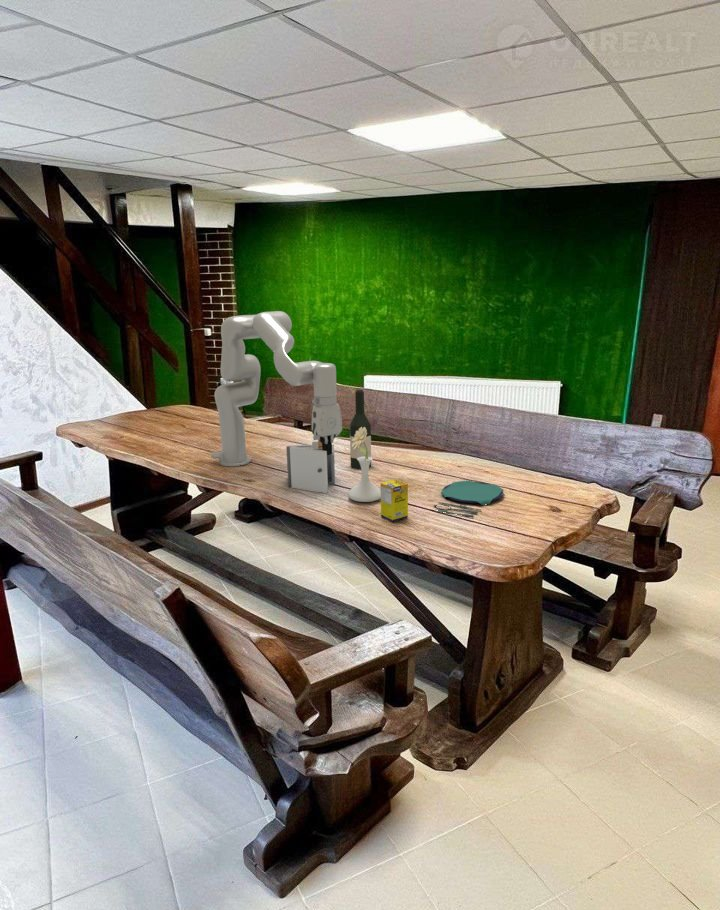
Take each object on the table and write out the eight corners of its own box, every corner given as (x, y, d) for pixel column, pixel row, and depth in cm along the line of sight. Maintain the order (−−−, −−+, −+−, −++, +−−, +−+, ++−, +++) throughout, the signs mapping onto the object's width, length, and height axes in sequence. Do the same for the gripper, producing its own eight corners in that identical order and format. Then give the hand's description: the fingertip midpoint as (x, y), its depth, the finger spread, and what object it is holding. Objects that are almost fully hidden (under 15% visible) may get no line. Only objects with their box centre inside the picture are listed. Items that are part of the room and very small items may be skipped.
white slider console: (289, 485, 213) (287, 452, 210) (291, 477, 222) (289, 445, 219) (334, 484, 213) (333, 451, 210) (334, 476, 223) (334, 444, 220)
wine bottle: (356, 470, 229) (354, 392, 221) (346, 465, 236) (344, 388, 228) (375, 467, 233) (374, 389, 224) (365, 462, 240) (364, 386, 232)
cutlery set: (511, 492, 204) (511, 485, 203) (478, 522, 179) (478, 515, 179) (456, 483, 214) (456, 477, 213) (417, 511, 190) (417, 504, 189)
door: (286, 487, 211) (284, 447, 207) (289, 485, 213) (287, 446, 209) (324, 494, 204) (323, 452, 200) (328, 492, 206) (326, 451, 202)
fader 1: (312, 449, 212) (312, 441, 212) (312, 447, 215) (312, 439, 214) (318, 449, 213) (317, 441, 212) (318, 447, 215) (318, 439, 214)
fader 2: (318, 446, 216) (317, 438, 216) (318, 444, 219) (318, 437, 218) (323, 446, 216) (323, 438, 216) (323, 444, 219) (323, 436, 218)
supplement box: (408, 518, 182) (408, 483, 179) (392, 522, 179) (392, 487, 176) (395, 512, 187) (395, 478, 184) (380, 516, 183) (380, 482, 180)
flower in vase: (348, 493, 204) (347, 420, 198) (382, 493, 204) (382, 420, 197) (346, 507, 192) (345, 430, 185) (382, 507, 191) (382, 429, 185)
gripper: (314, 405, 194) (316, 460, 199) (349, 399, 203) (351, 452, 208) (300, 402, 199) (303, 456, 204) (335, 396, 209) (337, 448, 214)
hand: (327, 454), depth 206 cm, fingers closed
